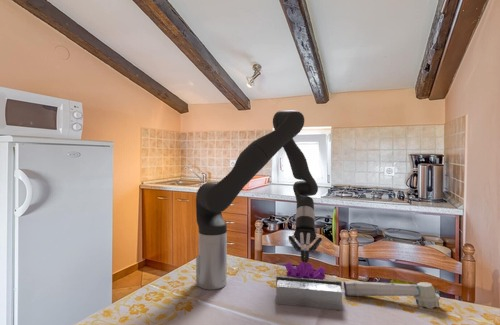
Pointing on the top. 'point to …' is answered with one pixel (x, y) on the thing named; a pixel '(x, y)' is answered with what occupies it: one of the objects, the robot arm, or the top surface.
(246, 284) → the top surface
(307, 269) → the purple tube coral
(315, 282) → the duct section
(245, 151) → the robot arm
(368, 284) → the white handheld device
